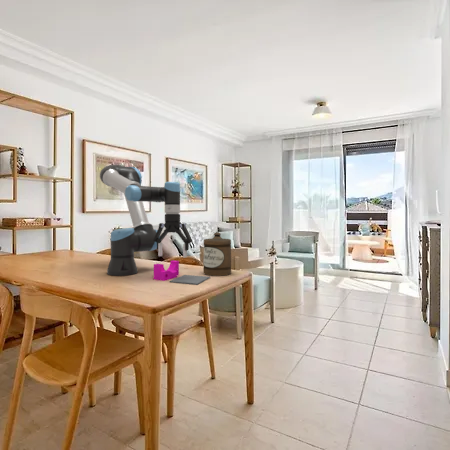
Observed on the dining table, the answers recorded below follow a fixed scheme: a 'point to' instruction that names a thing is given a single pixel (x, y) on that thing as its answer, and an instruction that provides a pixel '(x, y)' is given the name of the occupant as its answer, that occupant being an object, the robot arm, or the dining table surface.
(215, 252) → the wooden container
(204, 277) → the mat
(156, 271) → the toy block
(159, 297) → the dining table surface
